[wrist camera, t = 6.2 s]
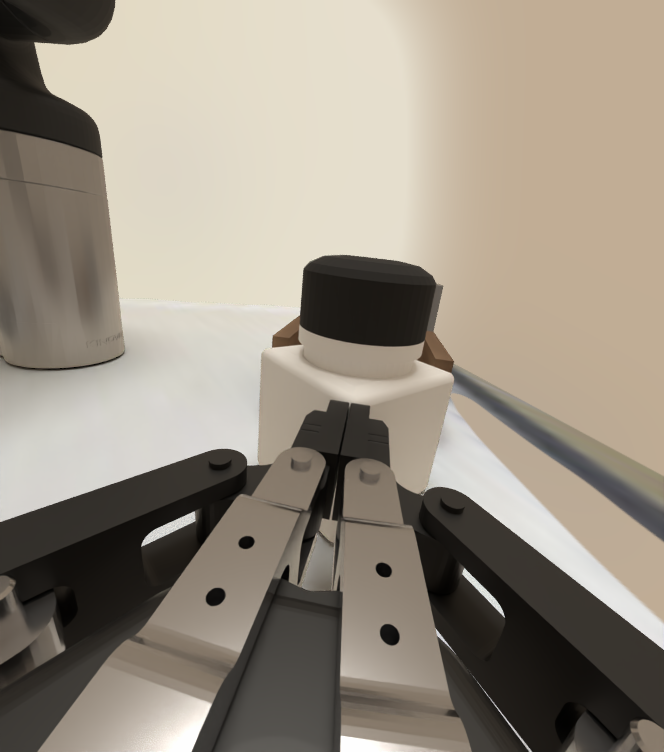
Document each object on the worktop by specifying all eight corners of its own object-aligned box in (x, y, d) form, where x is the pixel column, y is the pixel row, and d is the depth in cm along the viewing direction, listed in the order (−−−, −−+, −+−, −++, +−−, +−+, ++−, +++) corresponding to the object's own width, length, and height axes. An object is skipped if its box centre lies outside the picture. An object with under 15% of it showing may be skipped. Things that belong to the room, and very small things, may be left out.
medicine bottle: (428, 490, 19) (485, 271, 15) (332, 549, 15) (373, 260, 10) (345, 433, 24) (370, 257, 20) (255, 464, 20) (261, 245, 15)
